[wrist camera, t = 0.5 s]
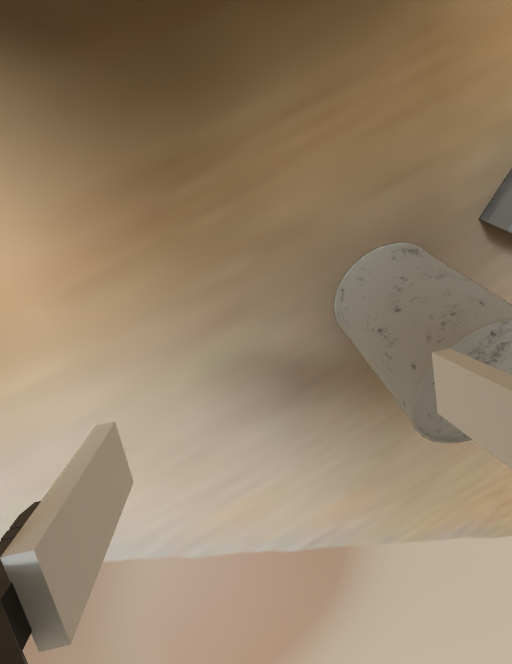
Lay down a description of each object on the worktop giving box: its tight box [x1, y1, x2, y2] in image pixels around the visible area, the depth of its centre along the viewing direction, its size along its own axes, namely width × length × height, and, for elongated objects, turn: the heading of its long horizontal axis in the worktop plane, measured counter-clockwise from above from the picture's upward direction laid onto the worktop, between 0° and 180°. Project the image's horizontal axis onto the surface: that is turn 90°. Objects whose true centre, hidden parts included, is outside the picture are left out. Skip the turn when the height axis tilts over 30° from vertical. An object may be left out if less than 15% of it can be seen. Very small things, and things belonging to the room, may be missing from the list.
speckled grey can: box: [334, 243, 512, 443], centre depth 28 cm, size 10×10×12 cm
